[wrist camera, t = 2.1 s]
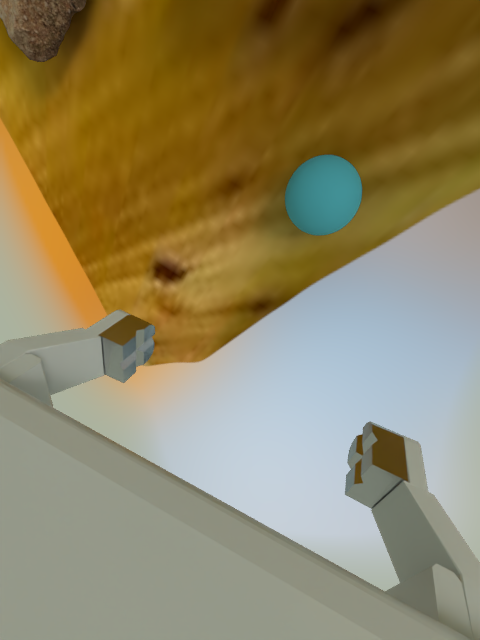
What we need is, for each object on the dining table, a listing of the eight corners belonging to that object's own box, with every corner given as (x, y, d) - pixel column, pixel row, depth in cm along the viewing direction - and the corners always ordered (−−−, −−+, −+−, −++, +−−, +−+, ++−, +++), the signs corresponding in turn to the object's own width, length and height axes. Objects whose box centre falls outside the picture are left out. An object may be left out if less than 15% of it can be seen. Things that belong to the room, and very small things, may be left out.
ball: (373, 155, 23) (369, 159, 19) (354, 230, 27) (347, 249, 22) (300, 151, 25) (280, 153, 21) (291, 221, 29) (272, 237, 24)
